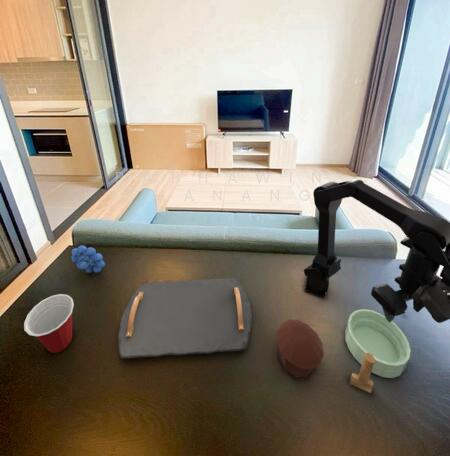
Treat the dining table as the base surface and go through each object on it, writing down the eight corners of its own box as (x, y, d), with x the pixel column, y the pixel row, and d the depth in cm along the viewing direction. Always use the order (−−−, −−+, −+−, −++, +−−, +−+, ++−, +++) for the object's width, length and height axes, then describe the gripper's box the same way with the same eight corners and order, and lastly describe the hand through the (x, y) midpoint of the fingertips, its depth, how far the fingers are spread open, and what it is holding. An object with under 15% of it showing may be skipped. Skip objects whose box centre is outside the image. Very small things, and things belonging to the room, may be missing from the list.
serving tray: (245, 283, 86) (246, 269, 84) (257, 356, 65) (259, 341, 63) (134, 288, 84) (131, 275, 82) (108, 366, 62) (104, 351, 60)
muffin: (265, 352, 66) (267, 327, 62) (291, 327, 72) (295, 303, 68) (302, 397, 57) (308, 371, 53) (328, 364, 63) (335, 339, 60)
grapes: (68, 281, 87) (60, 254, 82) (79, 266, 93) (72, 241, 89) (100, 282, 86) (94, 255, 82) (109, 267, 93) (104, 241, 88)
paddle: (350, 386, 59) (359, 357, 55) (349, 377, 61) (358, 348, 57) (371, 395, 57) (382, 366, 53) (370, 386, 59) (380, 357, 55)
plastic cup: (32, 373, 61) (18, 342, 57) (39, 333, 70) (28, 304, 66) (82, 351, 66) (72, 321, 61) (83, 317, 75) (74, 288, 70)
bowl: (345, 363, 63) (349, 349, 61) (344, 315, 76) (347, 302, 74) (410, 390, 58) (417, 376, 56) (398, 333, 70) (403, 320, 68)
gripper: (426, 311, 46) (404, 362, 52) (491, 287, 51) (464, 336, 57) (377, 267, 56) (363, 314, 62) (435, 250, 61) (417, 295, 67)
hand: (402, 315), depth 62 cm, fingers open, 9 cm apart
